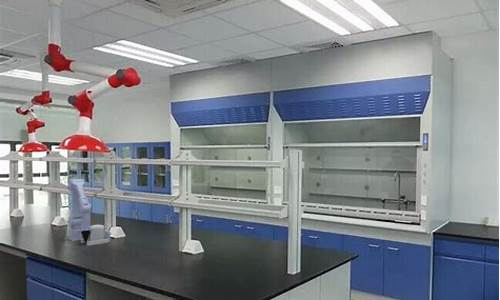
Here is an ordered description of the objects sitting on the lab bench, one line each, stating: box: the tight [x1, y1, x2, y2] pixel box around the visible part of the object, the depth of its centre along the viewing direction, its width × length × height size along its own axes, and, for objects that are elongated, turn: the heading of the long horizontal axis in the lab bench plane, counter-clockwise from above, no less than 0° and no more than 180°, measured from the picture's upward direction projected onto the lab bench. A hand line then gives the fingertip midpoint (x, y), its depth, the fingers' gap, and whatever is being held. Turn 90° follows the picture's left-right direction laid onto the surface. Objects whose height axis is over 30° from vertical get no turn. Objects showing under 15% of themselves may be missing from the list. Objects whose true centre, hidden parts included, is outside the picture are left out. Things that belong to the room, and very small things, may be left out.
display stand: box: [80, 229, 112, 246], centre depth 269 cm, size 12×16×7 cm
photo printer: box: [88, 224, 105, 241], centre depth 269 cm, size 10×4×12 cm, turn 121°
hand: (85, 241), depth 264 cm, fingers closed
